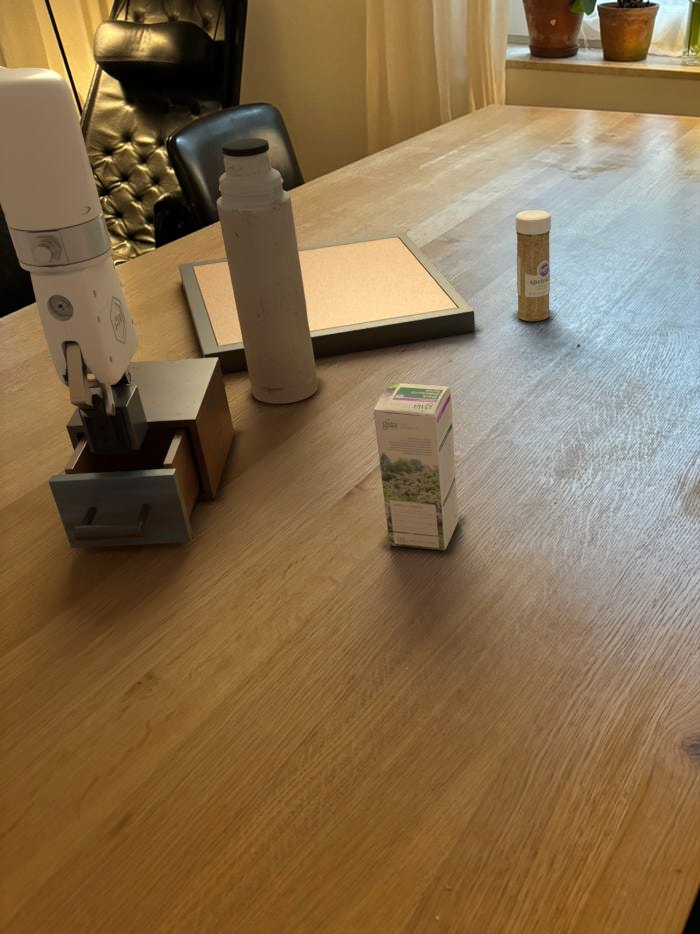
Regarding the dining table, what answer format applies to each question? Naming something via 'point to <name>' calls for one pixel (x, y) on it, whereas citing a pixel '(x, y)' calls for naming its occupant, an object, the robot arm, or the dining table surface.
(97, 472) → the drawer
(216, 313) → the cork board
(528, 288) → the sprinkles bottle
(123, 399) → the block
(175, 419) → the cabinet
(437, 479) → the syrup box
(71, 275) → the robot arm
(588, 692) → the dining table surface
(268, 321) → the thermos bottle
